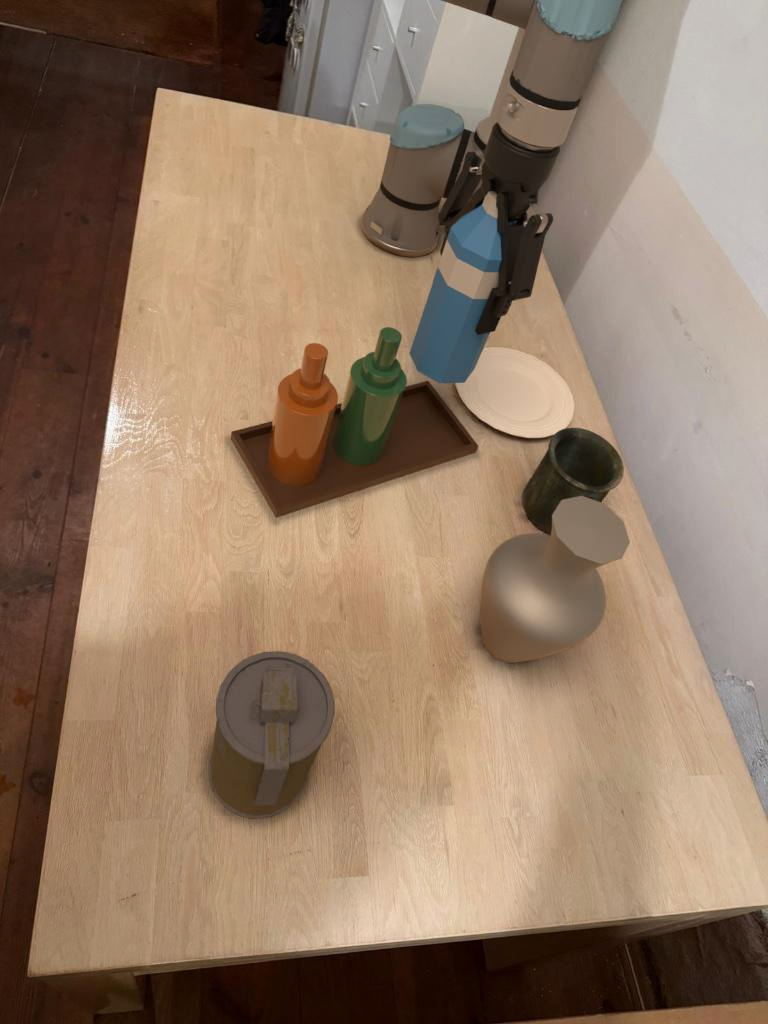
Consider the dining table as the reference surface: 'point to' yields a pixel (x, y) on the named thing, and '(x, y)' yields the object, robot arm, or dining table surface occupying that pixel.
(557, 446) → the mug
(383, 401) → the green bottle
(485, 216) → the water bottle
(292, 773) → the canister
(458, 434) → the tray
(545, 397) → the plate
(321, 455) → the amber bottle
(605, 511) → the vase
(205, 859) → the dining table surface
